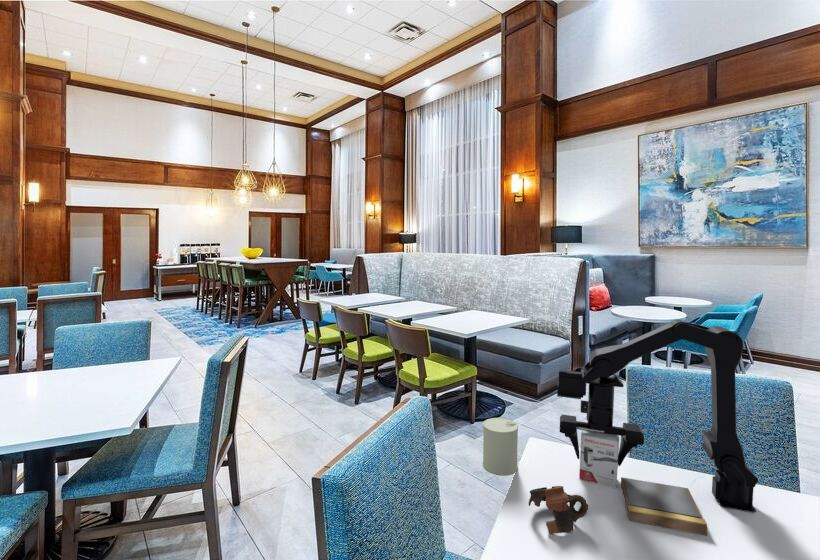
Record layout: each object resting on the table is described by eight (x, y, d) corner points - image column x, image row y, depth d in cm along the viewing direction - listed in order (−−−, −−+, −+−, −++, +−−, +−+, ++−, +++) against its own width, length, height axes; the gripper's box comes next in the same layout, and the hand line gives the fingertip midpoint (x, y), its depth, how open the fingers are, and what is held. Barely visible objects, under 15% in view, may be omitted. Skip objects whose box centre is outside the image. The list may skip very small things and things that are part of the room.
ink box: (578, 479, 104) (579, 434, 103) (580, 470, 109) (581, 426, 108) (617, 488, 100) (618, 441, 99) (617, 478, 105) (619, 433, 104)
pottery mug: (534, 537, 85) (524, 492, 88) (536, 530, 93) (526, 489, 96) (596, 530, 82) (583, 484, 86) (592, 523, 90) (580, 481, 94)
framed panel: (687, 496, 97) (688, 487, 97) (706, 535, 84) (707, 524, 84) (620, 485, 102) (621, 476, 102) (628, 520, 89) (629, 510, 88)
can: (523, 474, 107) (524, 428, 106) (489, 477, 106) (489, 431, 105) (509, 456, 116) (509, 414, 115) (477, 459, 115) (478, 417, 114)
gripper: (638, 395, 107) (635, 453, 108) (561, 386, 114) (559, 441, 115) (645, 411, 97) (642, 475, 98) (560, 400, 103) (558, 461, 104)
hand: (598, 461), depth 104 cm, fingers open, 9 cm apart
